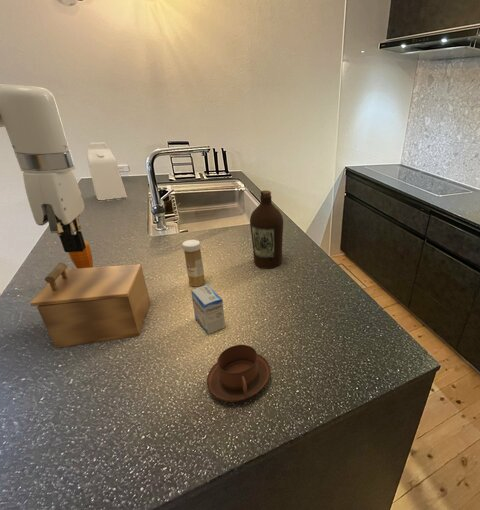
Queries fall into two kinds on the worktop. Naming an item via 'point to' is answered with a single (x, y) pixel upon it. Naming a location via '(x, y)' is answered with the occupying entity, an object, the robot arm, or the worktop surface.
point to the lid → (86, 284)
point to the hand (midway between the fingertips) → (75, 250)
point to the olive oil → (267, 233)
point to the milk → (104, 172)
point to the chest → (97, 317)
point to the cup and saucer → (238, 374)
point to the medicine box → (208, 309)
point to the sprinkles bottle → (194, 262)
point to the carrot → (82, 257)
